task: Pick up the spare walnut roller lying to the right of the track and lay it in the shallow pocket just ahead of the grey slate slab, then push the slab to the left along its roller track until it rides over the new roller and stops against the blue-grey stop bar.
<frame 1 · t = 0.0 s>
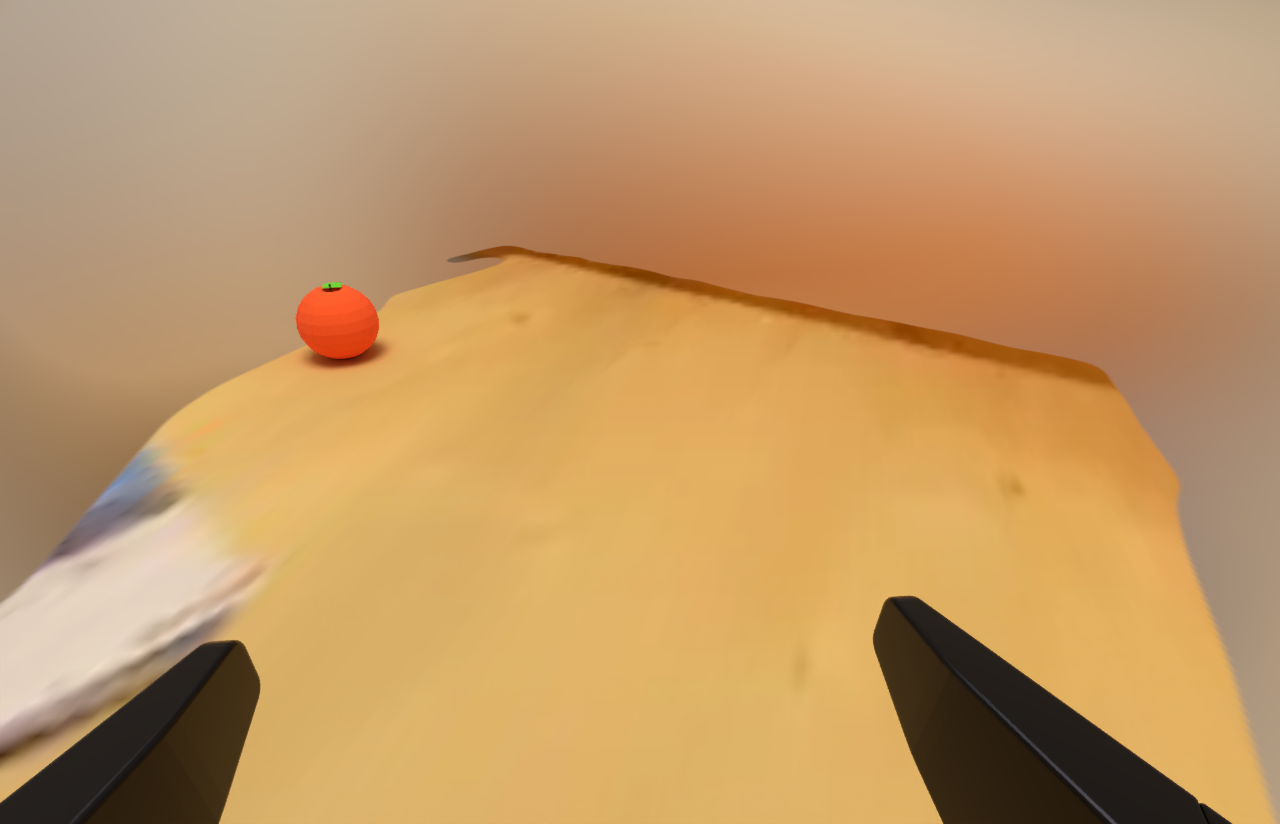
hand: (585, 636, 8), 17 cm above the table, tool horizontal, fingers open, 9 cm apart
clementine: (347, 355, 56), on the table
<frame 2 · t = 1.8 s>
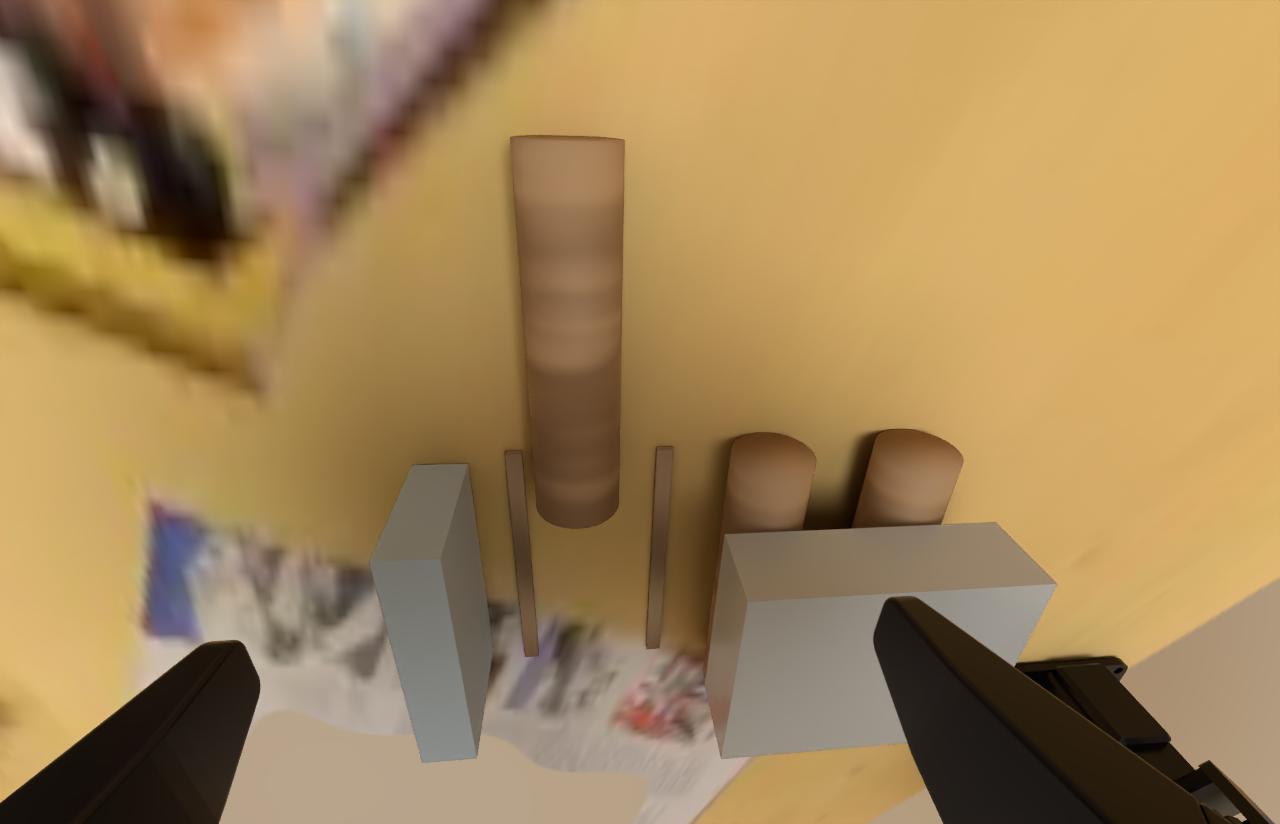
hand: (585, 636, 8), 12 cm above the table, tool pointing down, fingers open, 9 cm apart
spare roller: (573, 332, 19), on the table
slab: (857, 641, 21), point 5 cm above the table, slide at 0.0 cm
stop bar: (457, 565, 23), on the table
roller track: (809, 548, 25), on the table
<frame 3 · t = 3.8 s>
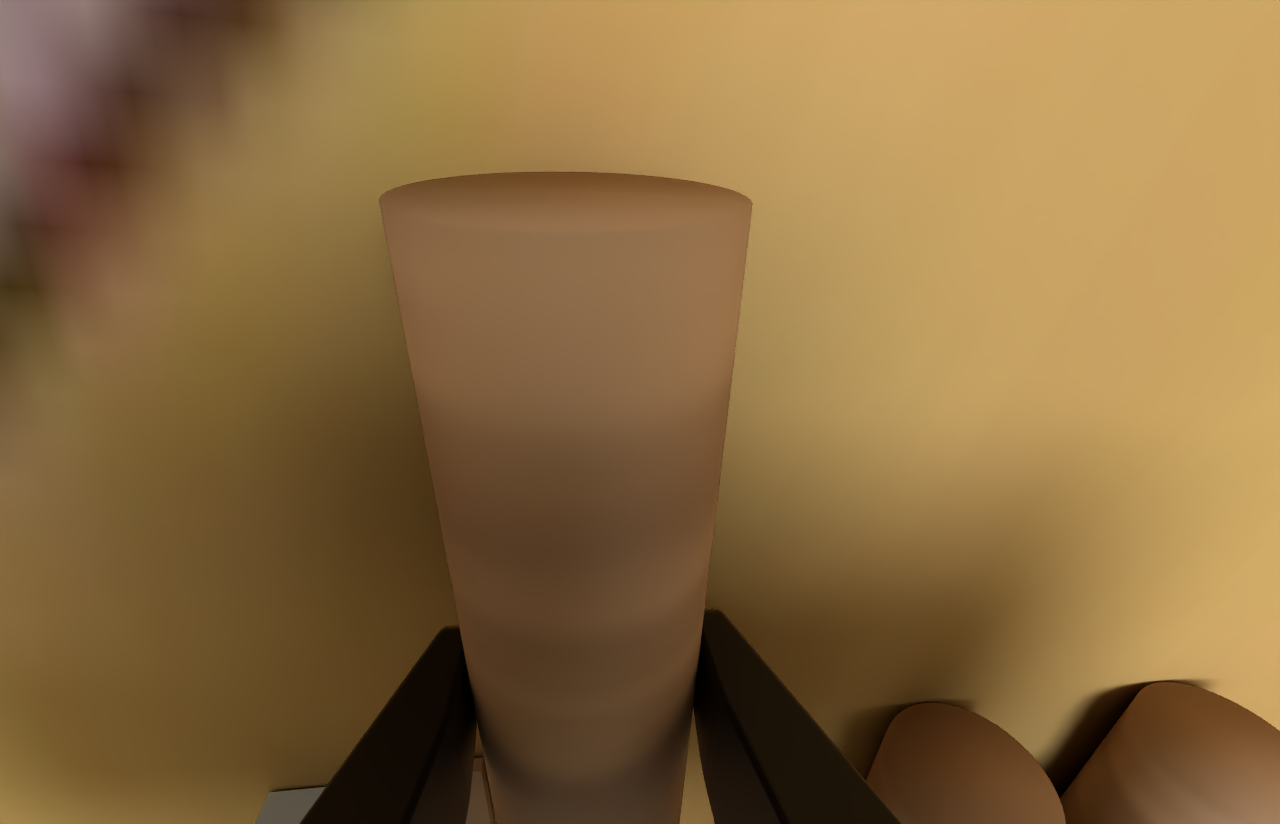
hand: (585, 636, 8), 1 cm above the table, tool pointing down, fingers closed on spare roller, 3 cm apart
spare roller: (583, 579, 9), on the table, touching gripper
when the fingers open (2 cm above the table, at t = 7.3 s): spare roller drops 1 cm, on the table.
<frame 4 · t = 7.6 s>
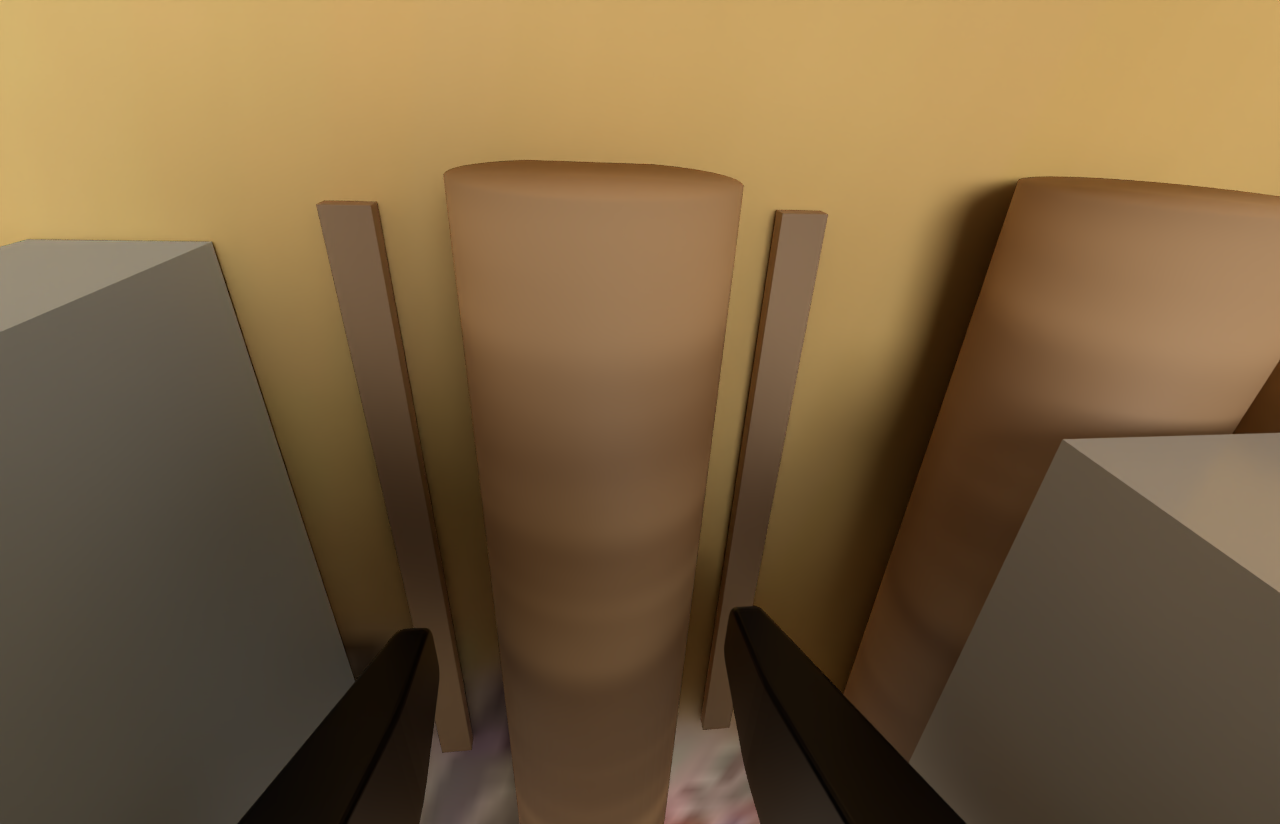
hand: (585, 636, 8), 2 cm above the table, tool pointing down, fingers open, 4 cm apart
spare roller: (589, 528, 10), on the table
stop bar: (247, 554, 9), on the table
roller track: (1083, 515, 11), on the table
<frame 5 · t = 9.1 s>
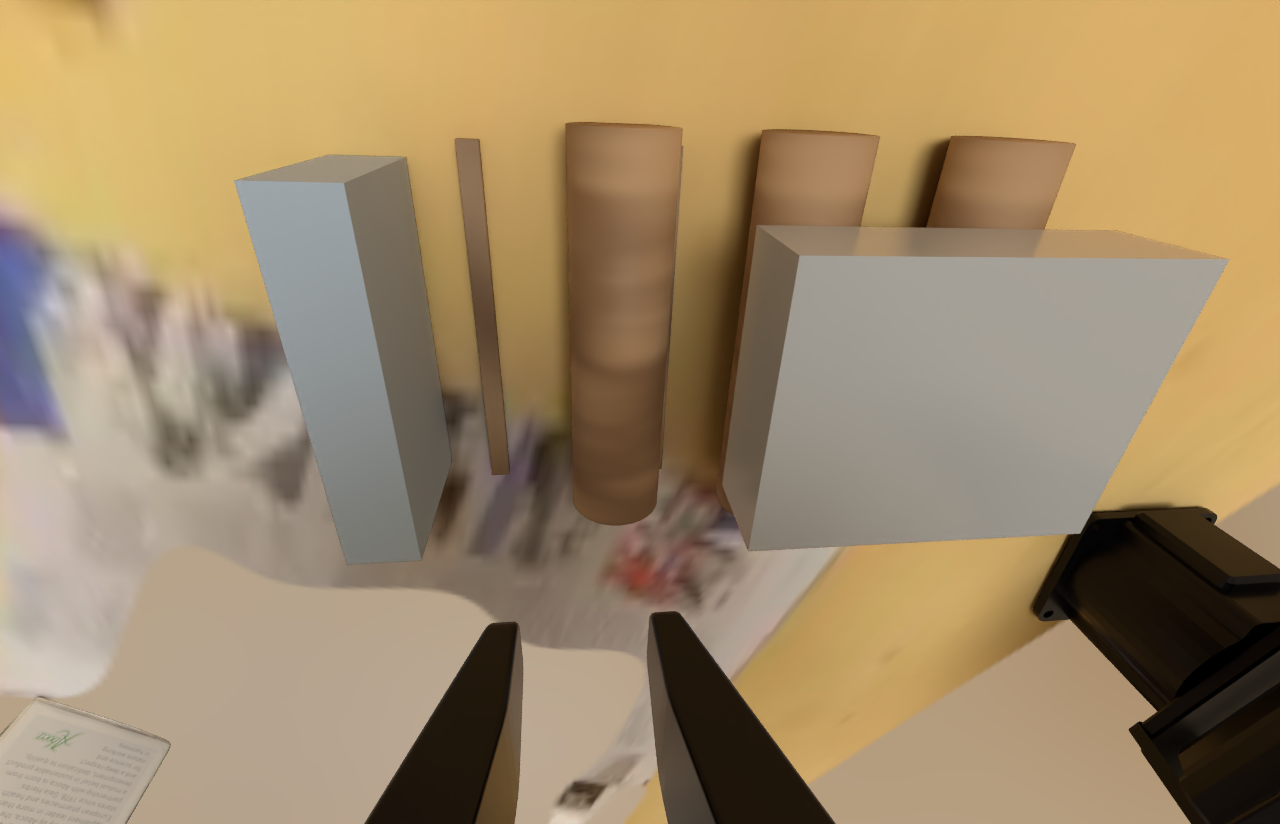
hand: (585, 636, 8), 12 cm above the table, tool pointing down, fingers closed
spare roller: (579, 332, 18), on the table, tilted 54°
slab: (931, 391, 15), point 5 cm above the table, slide at 0.0 cm
syrup box: (86, 744, 26), on the table
stop bar: (399, 329, 18), on the table
roller track: (852, 327, 20), on the table
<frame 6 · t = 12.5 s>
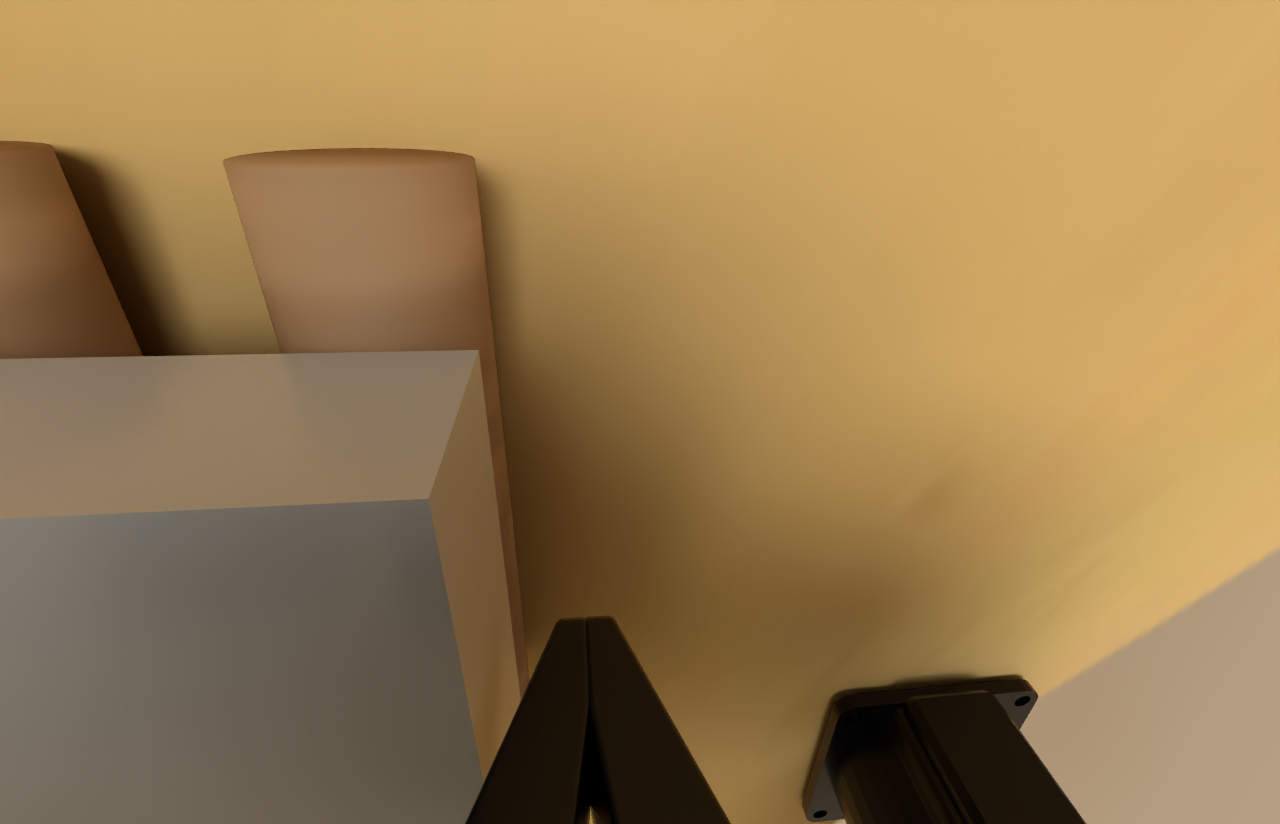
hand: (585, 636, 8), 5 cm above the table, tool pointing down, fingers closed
slab: (93, 696, 7), point 5 cm above the table, slide at 0.9 cm, touching gripper
roller track: (315, 471, 11), on the table
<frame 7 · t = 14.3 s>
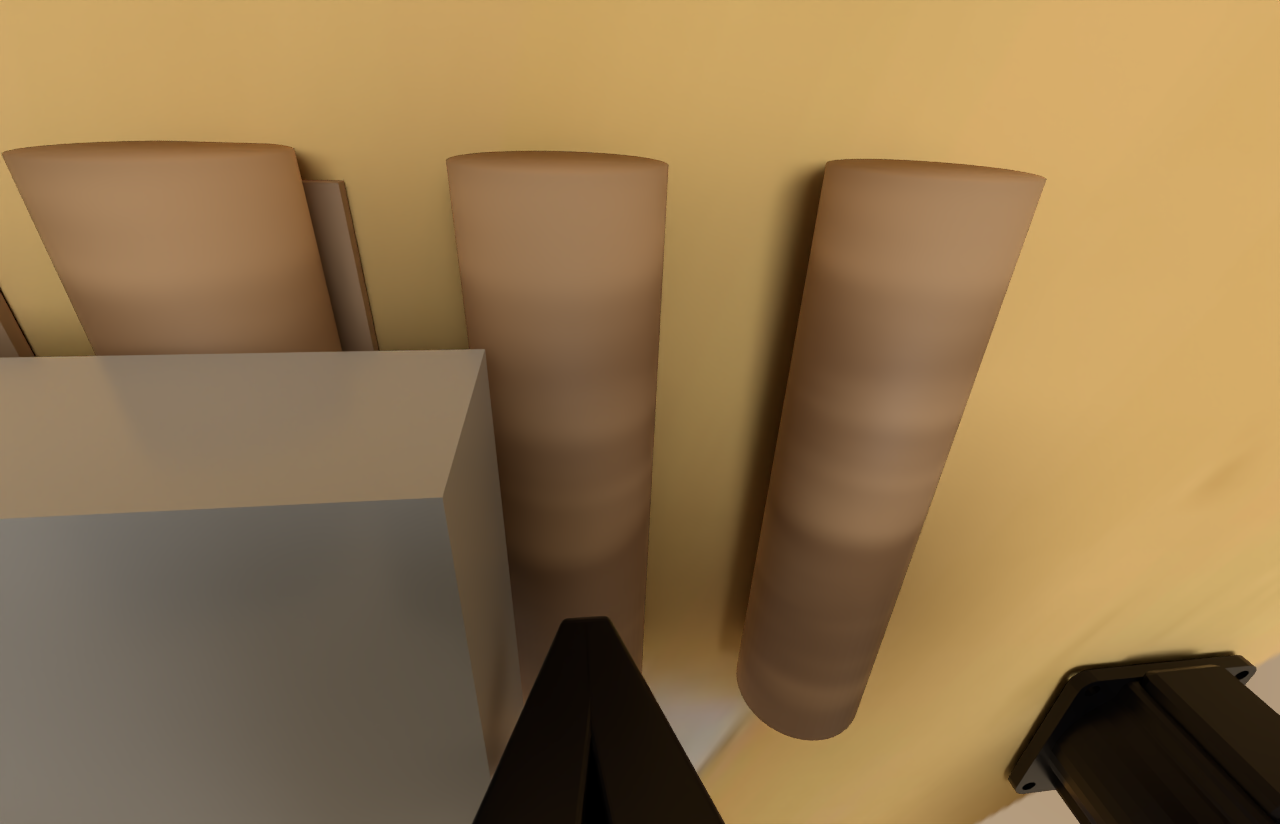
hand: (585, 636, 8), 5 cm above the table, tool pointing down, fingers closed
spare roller: (237, 485, 11), on the table, tilted 55°
slab: (95, 698, 7), point 5 cm above the table, slide at 9.0 cm, touching gripper
roller track: (707, 455, 12), on the table
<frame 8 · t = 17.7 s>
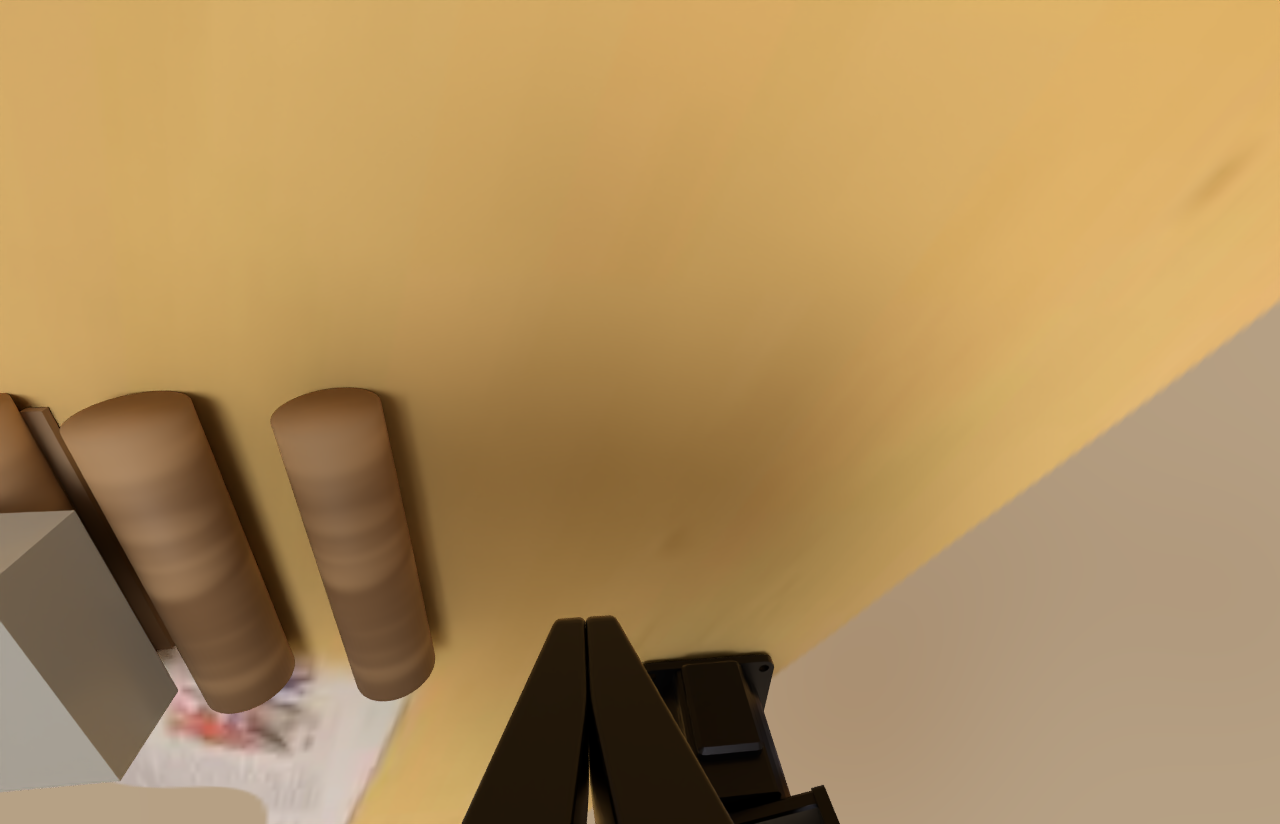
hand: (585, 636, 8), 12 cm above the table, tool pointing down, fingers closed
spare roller: (18, 552, 20), on the table, tilted 55°
roller track: (308, 532, 21), on the table
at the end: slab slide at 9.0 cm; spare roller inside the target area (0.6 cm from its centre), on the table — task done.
